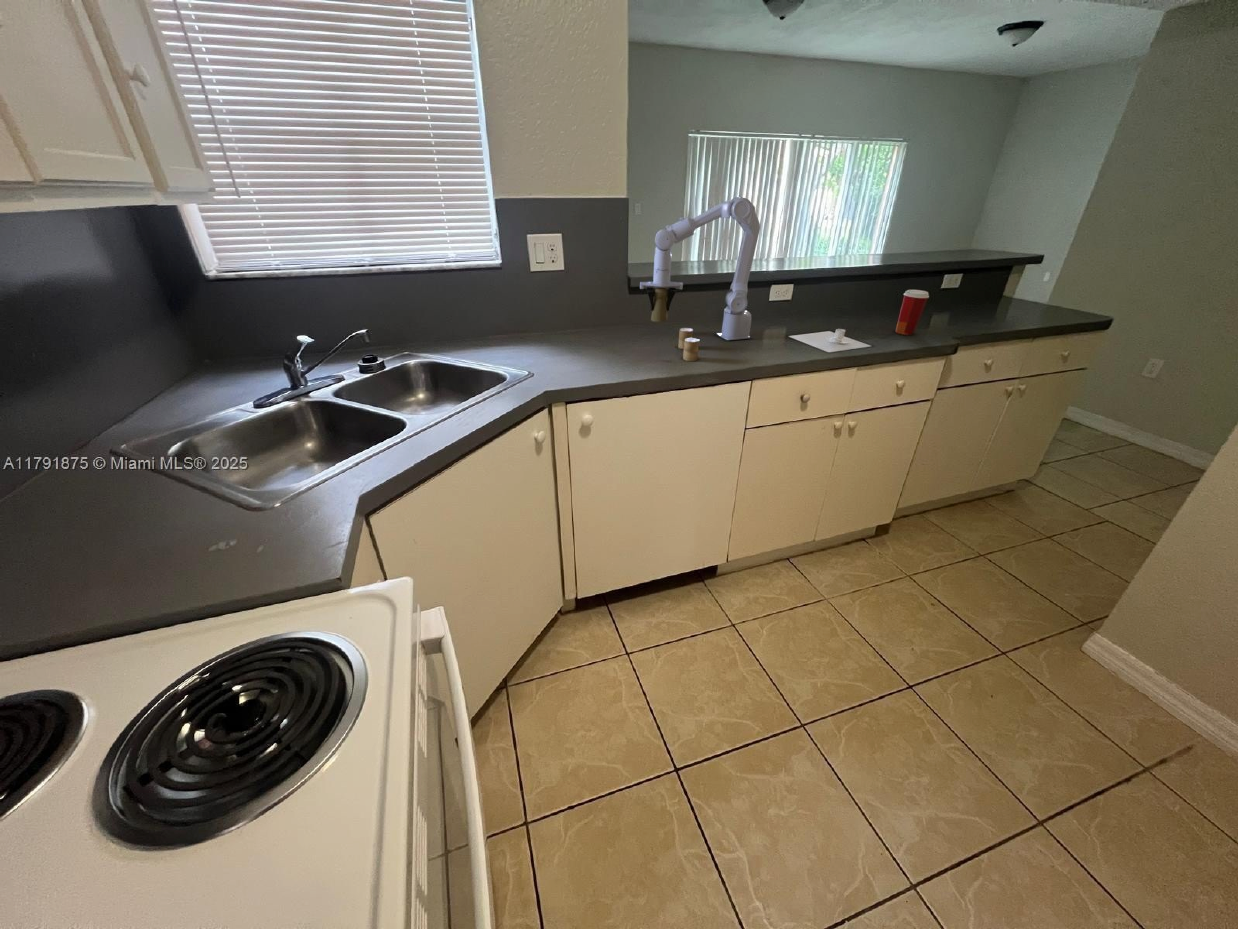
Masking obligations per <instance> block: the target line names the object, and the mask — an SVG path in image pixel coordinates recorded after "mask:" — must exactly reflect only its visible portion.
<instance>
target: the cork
mask: <svg viewBox="0 0 1238 929" xmlns="http://www.w3.org/2000/svg"><path fill="white" fill-rule="evenodd" d="M667 296H668V290H667V289H666V288H656V289H654V300H653V306H654V308H653V311H651V316H650V321H651V322H654V323H665V322H668V320H669V319H668V316H669V315H668V311H667Z"/></svg>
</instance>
